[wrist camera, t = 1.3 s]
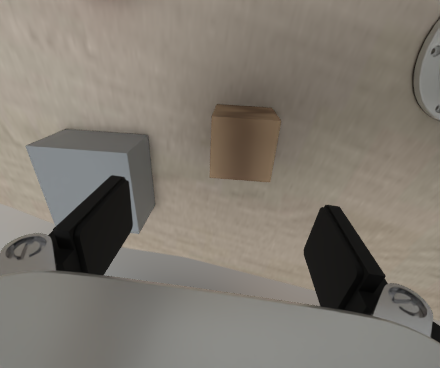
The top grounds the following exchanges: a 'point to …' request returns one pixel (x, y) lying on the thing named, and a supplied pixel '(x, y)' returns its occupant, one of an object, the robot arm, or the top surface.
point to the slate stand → (92, 169)
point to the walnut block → (243, 142)
